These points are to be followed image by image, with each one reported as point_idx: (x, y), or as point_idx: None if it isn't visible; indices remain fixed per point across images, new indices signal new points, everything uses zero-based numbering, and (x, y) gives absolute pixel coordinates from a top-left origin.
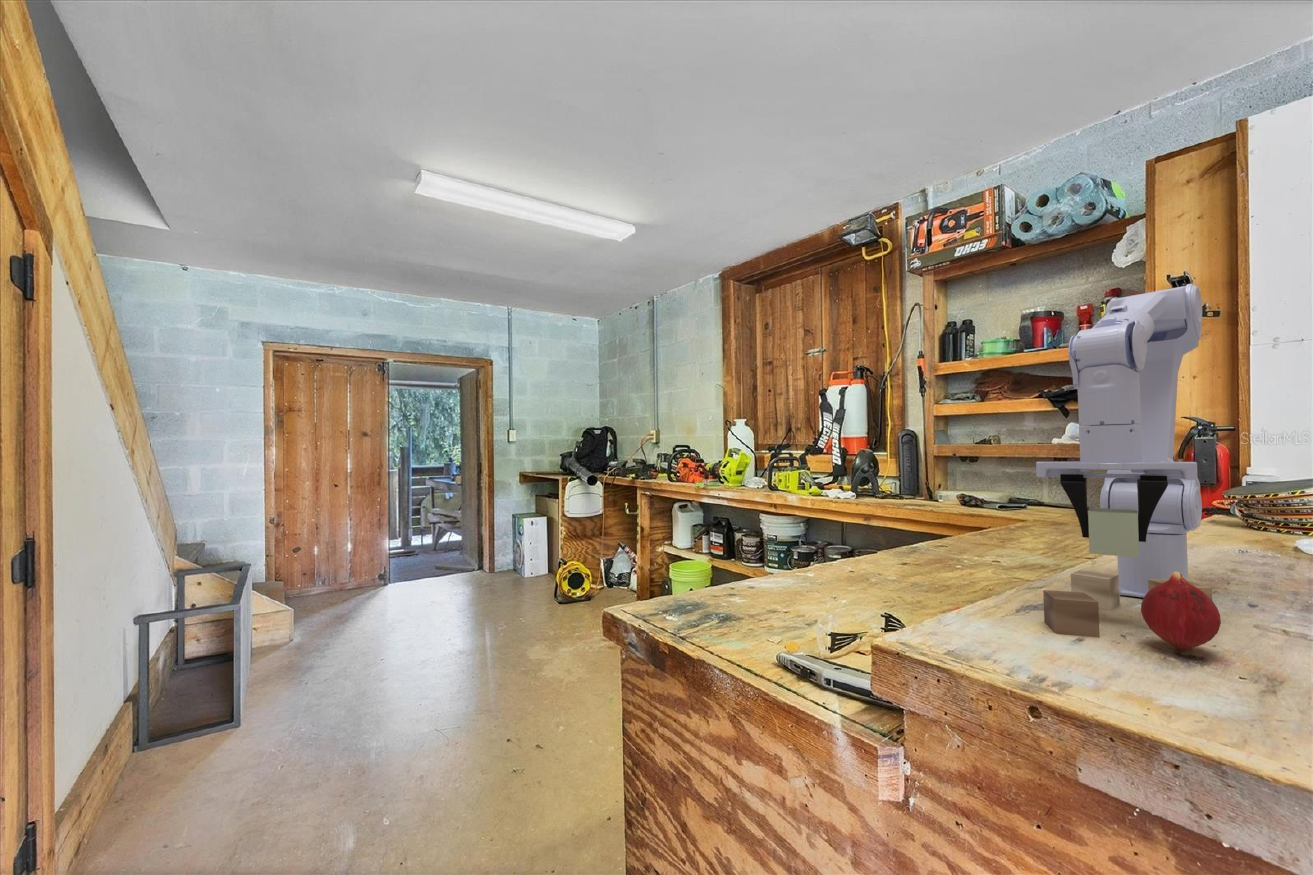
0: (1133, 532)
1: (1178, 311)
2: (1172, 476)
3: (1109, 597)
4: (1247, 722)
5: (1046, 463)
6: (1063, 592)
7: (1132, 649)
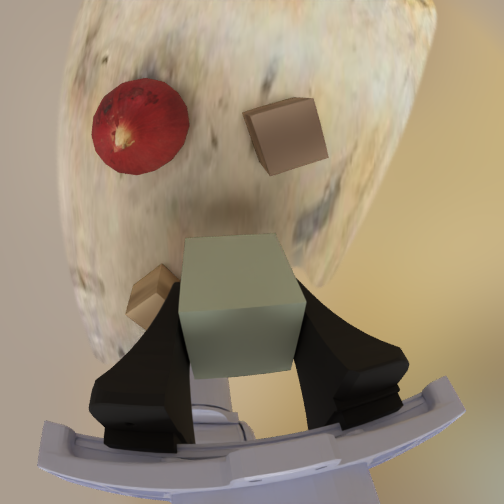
0: (191, 272)
1: None
2: (97, 444)
3: None
4: None
5: (448, 418)
6: (300, 155)
7: (204, 83)
